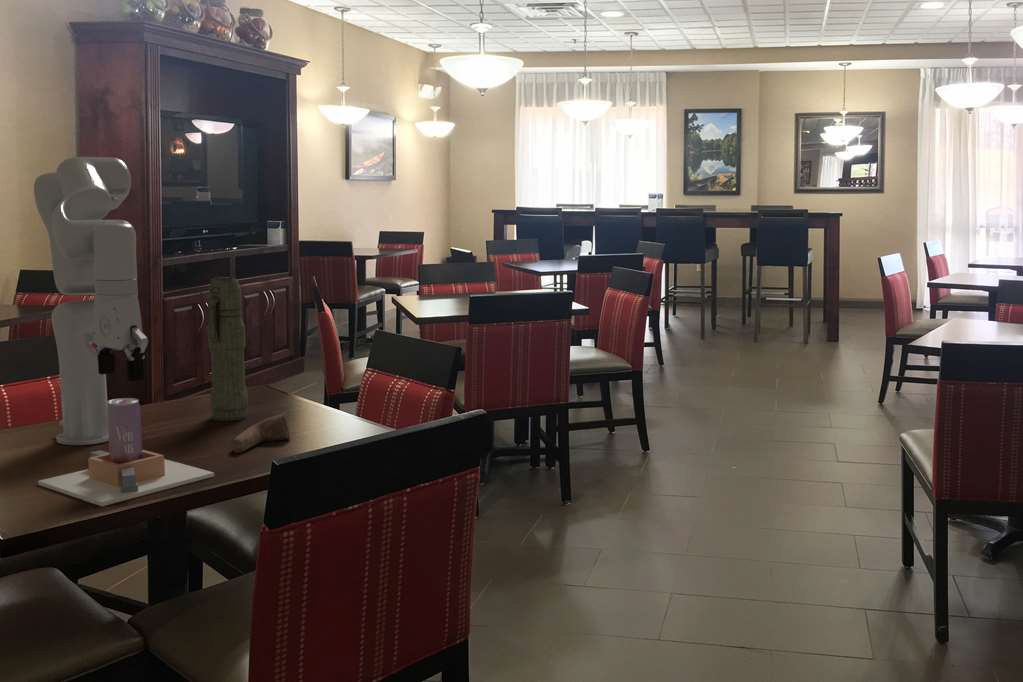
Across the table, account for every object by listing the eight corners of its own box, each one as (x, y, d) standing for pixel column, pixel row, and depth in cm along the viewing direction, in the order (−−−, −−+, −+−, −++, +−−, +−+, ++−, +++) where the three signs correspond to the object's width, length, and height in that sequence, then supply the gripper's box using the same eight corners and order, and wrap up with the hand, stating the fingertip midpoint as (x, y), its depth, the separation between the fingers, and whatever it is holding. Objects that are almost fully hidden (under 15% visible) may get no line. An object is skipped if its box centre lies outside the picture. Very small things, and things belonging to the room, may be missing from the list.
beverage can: (142, 470, 198) (139, 396, 196) (143, 478, 193) (139, 402, 191) (110, 473, 196) (106, 398, 194) (110, 481, 191) (106, 404, 189)
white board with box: (38, 484, 191) (36, 460, 191) (149, 458, 210) (148, 436, 210) (101, 506, 178) (100, 480, 178) (214, 476, 197) (213, 452, 197)
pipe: (222, 432, 214) (266, 426, 213) (252, 415, 231) (293, 409, 229) (228, 461, 215) (272, 455, 214) (257, 441, 231) (298, 436, 230)
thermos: (201, 421, 245) (195, 279, 239) (225, 411, 256) (219, 275, 251) (234, 423, 243) (228, 279, 238) (257, 412, 254) (252, 275, 249)
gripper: (73, 286, 191) (78, 373, 194) (124, 294, 181) (129, 386, 184) (109, 283, 197) (113, 368, 200) (160, 290, 187) (164, 379, 190)
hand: (121, 376), depth 192 cm, fingers open, 9 cm apart
